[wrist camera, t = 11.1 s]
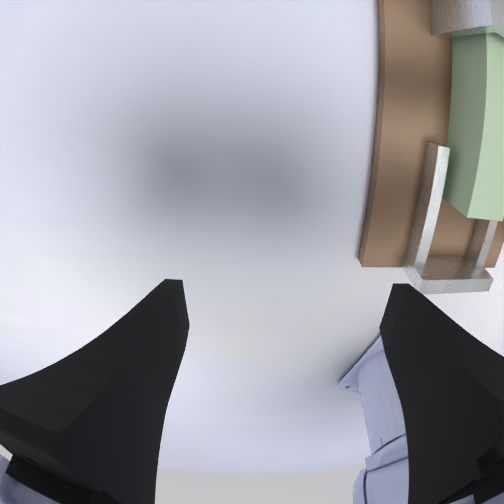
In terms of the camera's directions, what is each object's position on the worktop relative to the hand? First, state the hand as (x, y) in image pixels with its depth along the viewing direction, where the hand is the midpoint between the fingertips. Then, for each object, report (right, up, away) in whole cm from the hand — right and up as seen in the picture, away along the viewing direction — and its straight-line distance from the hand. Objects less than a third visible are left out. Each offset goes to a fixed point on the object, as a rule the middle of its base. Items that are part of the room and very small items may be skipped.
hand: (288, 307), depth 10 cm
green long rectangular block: (+12, +11, +3) cm, 16 cm away
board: (+12, +11, +4) cm, 17 cm away
